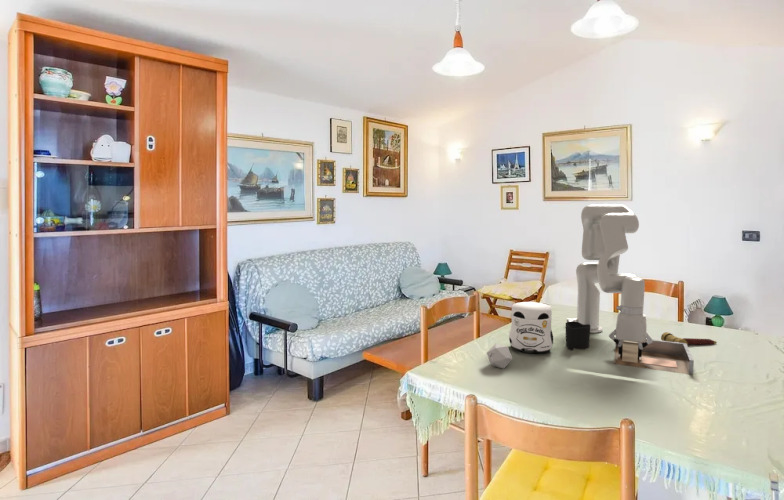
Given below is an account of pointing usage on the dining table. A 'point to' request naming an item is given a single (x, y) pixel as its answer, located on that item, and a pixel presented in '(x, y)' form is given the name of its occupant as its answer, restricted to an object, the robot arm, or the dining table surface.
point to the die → (499, 356)
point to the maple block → (630, 351)
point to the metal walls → (670, 351)
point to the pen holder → (577, 335)
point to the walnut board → (656, 362)
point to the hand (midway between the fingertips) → (629, 356)
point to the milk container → (531, 327)
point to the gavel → (686, 340)
